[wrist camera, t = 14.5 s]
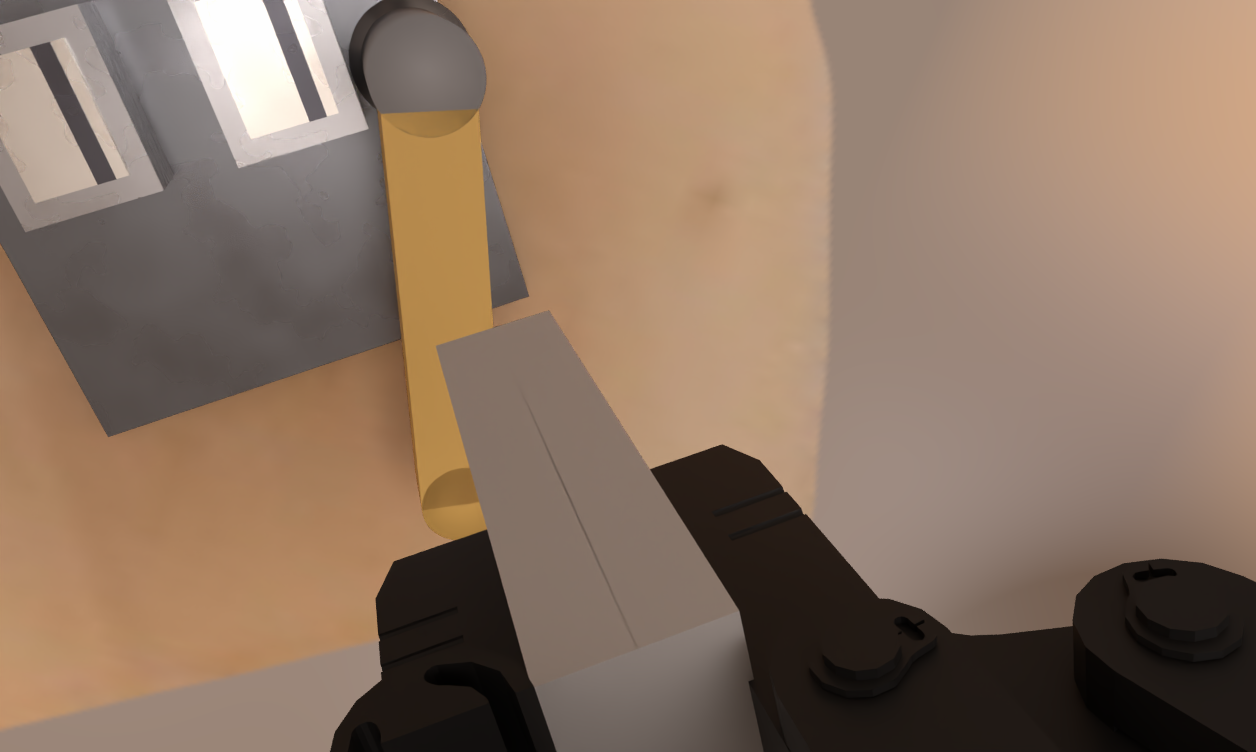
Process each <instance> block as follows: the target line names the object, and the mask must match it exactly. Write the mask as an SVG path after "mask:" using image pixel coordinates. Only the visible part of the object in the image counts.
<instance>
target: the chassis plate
mask: <svg viewBox="0 0 1256 752" xmlns="http://www.w3.org/2000/svg"><path fill="white" fill-rule="evenodd" d="M405 7H415V8H421V9H424V10H427V11H430V12H432V13H434V14H436V15H438V16H440V17H442V18H444V19H446V20H448V21H450V22H452V23H454V24H455V25H457V26H458V27H460V28H461V29H462V30H463V31H465V32H466V33H467V31H466V29H465V28H464V26H463V25H462V23H461V22H460V20H459V19H458V18H457V17H456V16H455V15H454V14H453V13H452V12H451V11H450V10H449V9H447V8H446V7H444V6H443V5H442V4H440V3H438V2H437V0H0V243H1V245H2V247H3V249H4V250H5V252H6V254H7V256H8V258H9V259H10V261H11V263H12V265H13V267H14V268H15V270H16V272H17V274H18V276H19V277H20V279H21V281H22V283H23V285H24V286H25V288H26V290H27V292H28V294H29V295H30V297H31V299H32V301H33V303H34V304H35V306H36V308H37V310H38V312H39V313H40V315H41V317H42V319H43V321H44V322H45V324H46V326H47V328H48V330H49V331H50V333H51V335H52V337H53V338H54V340H55V342H56V344H57V346H58V347H59V349H60V351H61V353H62V355H63V356H64V358H65V360H66V362H67V364H68V365H69V367H70V369H71V371H72V373H73V374H74V376H75V378H76V380H77V382H78V383H79V385H80V387H81V389H82V391H83V392H84V394H85V396H86V398H87V400H88V401H89V403H90V405H91V407H92V409H93V410H94V412H95V414H96V416H97V418H98V419H99V421H100V423H101V425H102V427H103V428H104V430H105V432H106V434H107V436H108V437H110V436H113V435H116V434H119V433H122V432H125V431H128V430H131V429H134V428H137V427H140V426H143V425H146V424H149V423H152V422H155V421H158V420H160V419H163V418H166V417H169V416H172V415H175V414H178V413H181V412H184V411H187V410H190V409H193V408H196V407H199V406H202V405H205V404H208V403H211V402H214V401H217V400H220V399H223V398H226V397H229V396H232V395H235V394H238V393H241V392H244V391H247V390H250V389H253V388H256V387H259V386H262V385H265V384H268V383H271V382H274V381H277V380H280V379H283V378H286V377H289V376H292V375H295V374H298V373H301V372H304V371H307V370H310V369H313V368H316V367H319V366H322V365H325V364H328V363H331V362H334V361H337V360H340V359H343V358H346V357H349V356H352V355H355V354H358V353H361V352H364V351H367V350H370V349H373V348H376V347H379V346H382V345H385V344H388V343H391V342H394V341H397V340H400V339H401V330H400V321H399V311H398V302H397V292H396V283H395V273H394V264H393V254H392V245H391V235H390V226H389V216H388V207H387V197H386V188H385V178H384V169H383V159H382V150H381V140H380V131H379V121H378V112H377V107H376V106H375V104H374V102H373V100H372V98H371V95H370V92H369V89H368V86H367V83H366V80H365V77H364V73H363V70H362V65H361V49H362V44H363V41H364V38H365V35H366V33H367V32H368V30H369V28H370V27H371V26H372V24H373V23H374V22H375V21H376V20H377V19H378V18H380V17H381V16H382V15H384V14H385V13H387V12H389V11H392V10H394V9H398V8H405ZM467 34H468V33H467ZM481 151H482V166H483V181H484V196H485V211H486V226H487V241H488V256H489V271H490V286H491V302H492V308H495V307H498V306H501V305H504V304H507V303H510V302H513V301H516V300H519V299H522V298H525V297H528V296H529V294H528V291H527V288H526V285H525V282H524V278H523V275H522V272H521V269H520V266H519V262H518V259H517V256H516V253H515V249H514V246H513V243H512V240H511V237H510V233H509V230H508V227H507V224H506V221H505V217H504V214H503V211H502V208H501V205H500V201H499V198H498V195H497V192H496V188H495V185H494V182H493V179H492V176H491V172H490V169H489V166H488V163H487V160H486V156H485V153H484V150H483V147H482V143H481Z"/></svg>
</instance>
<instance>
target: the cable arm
mask: <svg viewBox="0 0 1256 752" xmlns="http://www.w3.org/2000/svg"><path fill="white" fill-rule="evenodd" d="M361 65H362V70H363V73H364V77H365V80H366V83H367V86H368V89H369V92H370V95H371V98H372V100H373V102H374V104H375V106H376V107H377V112H378V121H379V131H380V140H381V150H382V159H383V169H384V178H385V188H386V197H387V207H388V216H389V226H390V235H391V245H392V254H393V264H394V273H395V283H396V292H397V302H398V311H399V321H400V330H401V340H402V349H403V359H404V368H405V378H406V387H407V397H408V406H409V416H410V425H411V435H412V444H413V453H414V463H415V472H416V478H417V484H418V490H419V496H420V501H421V507H422V513H423V517H424V520H425V522H426V523H427V525H428V526H429V528H430V529H431V530H432V531H434V532H435V533H436V534H438V535H440V536H442V537H444V538H447V539H451V540H457V539H460V538H463V537H466V536H469V535H472V534H475V533H478V532H481V531H484V530H486V529H487V527H486V524H485V520H484V517H483V513H482V510H481V506H480V502H479V499H478V495H477V492H476V488H475V485H474V481H473V477H472V474H471V470H470V467H469V463H468V460H467V456H466V453H465V449H464V445H463V442H462V438H461V435H460V431H459V428H458V424H457V421H456V417H455V413H454V410H453V406H452V403H451V399H450V396H449V392H448V389H447V385H446V381H445V378H444V374H443V371H442V367H441V364H440V360H439V357H438V353H437V349H436V346H437V345H440V344H443V343H446V342H449V341H453V340H456V339H459V338H462V337H465V336H469V335H472V334H475V333H478V332H481V331H485V330H488V329H491V328H493V317H492V302H491V286H490V271H489V256H488V241H487V226H486V211H485V196H484V181H483V166H482V151H481V136H480V120H479V107H480V106H481V103H482V101H483V98H484V94H485V89H486V70H485V65H484V61H483V58H482V56H481V53H480V51H479V49H478V47H477V45H476V44H475V43H474V41H473V40H472V39H471V37H470V36H469V35H468V34H467V33H466V32H465V31H463V30H462V29H461V28H460V27H458V26H457V25H455V24H454V23H452V22H450V21H448V20H446V19H444V18H442V17H440V16H438V15H436V14H434V13H432V12H430V11H427V10H424V9H421V8H415V7H405V8H398V9H394V10H392V11H389V12H387V13H385V14H384V15H382V16H381V17H380V18H378V19H377V20H376V21H375V22H374V23H373V24H372V26H371V27H370V28H369V30H368V32H367V33H366V35H365V38H364V41H363V44H362V49H361Z"/></svg>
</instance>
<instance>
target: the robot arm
mask: <svg viewBox="0 0 1256 752" xmlns="http://www.w3.org/2000/svg"><path fill="white" fill-rule="evenodd" d="M436 349H437V353H438V357H439V360H440V364H441V367H442V371H443V374H444V378H445V381H446V385H447V389H448V392H449V396H450V399H451V403H452V406H453V410H454V413H455V417H456V421H457V424H458V428H459V431H460V435H461V438H462V442H463V445H464V449H465V453H466V456H467V460H468V463H469V467H470V470H471V474H472V477H473V481H474V485H475V488H476V492H477V495H478V499H479V502H480V506H481V510H482V513H483V517H484V520H485V524H486V527H487V529H486V530H484V531H481V532H478V533H475V534H472V535H469V536H466V537H463V538H460V539H457V540H455V541H452V542H449V543H446V544H443V545H440V546H437V547H434V548H431V549H429V550H426V551H423V552H420V553H417V554H414V555H411V556H408V557H405V558H403V559H400V560H397V561H394V562H393V564H392V566H391V568H390V570H389V572H388V574H387V576H386V578H385V581H384V583H383V585H382V587H381V589H380V591H379V593H378V595H377V597H376V611H377V624H378V635H379V638H380V641H379V651H380V664H381V667H382V671H383V672H381V677H382V680H381V681H380V682H379V683H378V684H376V685H375V686H374V687H373V688H371V689H370V690H369V691H368V692H367V693H365V695H363V696H362V697H361V698H359V699H358V700H357V701H356V702H355V704H354V705H353V707H352V708H351V710H350V711H349V712H348V714H347V715H346V717H345V718H344V720H343V721H342V722H341V724H340V726H339V727H338V729H337V730H336V731H335V734H334V738H333V742H332V746H331V751H330V752H1256V582H1254V581H1252V580H1250V579H1248V578H1246V577H1244V576H1241V575H1238V574H1235V573H1232V572H1229V571H1225V570H1222V569H1219V568H1216V567H1213V566H1210V565H1207V564H1204V563H1198V562H1188V561H1179V560H1169V559H1155V560H1148V561H1139V562H1131V563H1124V564H1121V565H1119V566H1117V567H1115V568H1112V569H1110V570H1108V571H1105V572H1103V573H1100V574H1098V575H1096V576H1094V577H1093V578H1092V579H1091V580H1090V582H1089V583H1088V584H1087V585H1086V586H1085V587H1084V588H1083V589H1082V590H1081V591H1080V592H1079V593H1078V594H1077V596H1076V601H1075V608H1074V614H1073V626H1070V627H1062V628H1053V629H1045V630H1036V631H1028V632H1019V633H1010V634H1002V635H975V636H970V635H963V634H955V633H951V632H950V631H949V630H948V628H946V627H945V626H944V625H943V624H941V623H940V622H938V621H937V620H935V619H934V618H933V617H932V616H930V615H929V614H927V613H926V612H925V611H923V610H922V609H919V608H916V607H913V606H910V605H907V604H903V603H900V602H897V601H894V600H890V599H879V598H878V597H877V596H876V594H875V593H874V592H873V591H872V590H871V589H870V588H869V586H868V585H867V584H866V583H865V582H864V581H863V579H861V577H860V576H859V575H858V574H857V572H856V571H855V570H854V569H853V568H852V567H851V565H850V564H849V563H848V562H847V561H846V560H845V559H844V557H843V556H842V555H841V554H840V553H839V552H838V551H837V549H836V548H835V547H834V546H833V545H832V544H831V542H830V541H829V540H828V539H827V538H826V537H825V535H824V534H823V533H822V532H821V531H820V530H819V529H818V527H817V526H816V525H815V524H814V523H813V521H812V520H811V519H810V518H809V517H808V516H807V515H806V514H805V515H804V514H803V512H802V509H801V508H800V506H799V505H798V504H797V503H796V502H795V501H794V499H793V498H792V497H791V496H790V495H789V494H788V493H787V492H784V490H783V487H782V486H781V484H780V483H779V482H778V481H777V480H776V479H775V477H774V476H773V475H772V474H771V473H770V472H769V471H768V469H767V468H766V467H765V466H764V465H763V464H762V462H761V461H760V460H758V459H755V458H753V457H751V456H748V455H746V454H744V453H741V452H739V451H736V450H734V449H732V448H729V447H727V446H725V445H719V446H716V447H713V448H710V449H707V450H705V451H702V452H699V453H696V454H693V455H690V456H687V457H684V458H681V459H678V460H676V461H673V462H670V463H667V464H664V465H661V466H658V467H655V468H652V469H649V467H648V466H647V464H646V463H645V461H644V460H643V458H642V456H641V455H640V453H639V452H638V450H637V449H636V447H635V445H634V444H633V442H632V441H631V439H630V437H629V436H628V434H627V433H626V431H625V430H624V428H623V426H622V425H621V423H620V422H619V420H618V419H617V417H616V415H615V414H614V412H613V411H612V409H611V407H610V406H609V404H608V403H607V401H606V400H605V398H604V396H603V395H602V393H601V392H600V390H599V388H598V387H597V385H596V384H595V382H594V381H593V379H592V377H591V376H590V374H589V373H588V371H587V370H586V368H585V366H584V365H583V363H582V362H581V360H580V358H579V357H578V355H577V354H576V352H575V351H574V349H573V347H572V346H571V344H570V343H569V341H568V340H567V338H566V336H565V335H564V333H563V332H562V330H561V328H560V327H559V325H558V324H557V322H556V321H555V319H554V317H553V316H552V314H551V313H550V311H549V310H548V311H545V312H542V313H539V314H536V315H532V316H529V317H526V318H523V319H520V320H517V321H513V322H510V323H507V324H504V325H501V326H497V327H494V328H491V329H488V330H485V331H481V332H478V333H475V334H472V335H469V336H465V337H462V338H459V339H456V340H453V341H449V342H446V343H443V344H440V345H437V346H436Z"/></svg>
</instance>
